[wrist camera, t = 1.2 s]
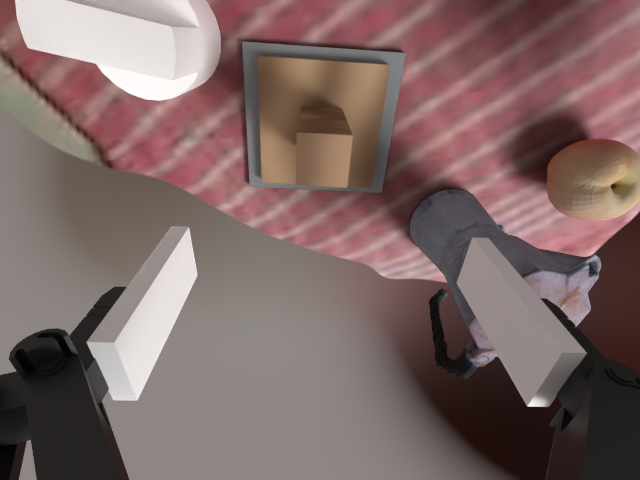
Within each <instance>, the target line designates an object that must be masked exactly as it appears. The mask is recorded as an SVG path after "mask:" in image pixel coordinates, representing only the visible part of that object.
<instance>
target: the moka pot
mask: <svg viewBox="0 0 640 480" xmlns="http://www.w3.org/2000/svg"><path fill="white" fill-rule="evenodd" d="M410 237H411V238H412V240H413V241H414V242H415V243H416V245H417V246H418V247H419V249H420V250H421V251H422V252H423V253H424V254H425V255H426V256H427V257H428V258H429V259H430V260H431V261H432V262H433V263H434V264H435V265H436V266H437V267H438V268H439V270H440V271H441V272H442V273H443V274H444V276H445V278H446V280H447V282H448V285H449V287H450V289H451V291H452V294H453V296H454V298H455V300H456V302H457V305H458V307H459V309H460V311H461V314H462V316H463V318H464V320H465V323H466V325H467V327H468V329H469V331H470V333H471V334H472V336H473V338H474V339H473V340H472V341H471V342H470V343H469V344H468V345H466V346H465V348H464V349H463V352H462V354H461V355H460V357H459V358H457V359H456V360H452V359H450V358H448V356H447V344H446V342H444V339H445V338H444V333H443V328H442V324H441V320H440V313H439V311H440V310H439V307H440V303H441V301H442V300H443V299H444V298H445V297H446V296H447V291H446V290H444V289H441V290H439V291H438V293H437V294H435V295H434V296H433V297H432V298H431V299H430V301H429V304H430V316H431V320H432V331H433V341H434V345H435V347H434V348H435V360H436V362H437V366H438V367H440V368H441V369H443V370H447V372H449V373H453V372H454V373H455V374H456V375H457V376H459V375H460V376H462V377H464V378H466V379H467V378H468V377H469V376H470V375H471V374H472V373H474V371H475V370H476V369H477V367H478V366H482V367H483V366H485V365H486V364H487V363H489V362H490V361H492V360H493V359H494V357H499V356H498V354H497V353H496V351H495V349H494V347H493V346H492V344H491V342H490V340H489V339H488V337H487V335H486V334H485V332H484V330H483V328H482V327H481V325H480V323H479V321H478V320H477V318H476V316H475V314H474V313H473V311H472V309H471V307H470V306H469V304H468V302H467V300H466V299H465V297H464V295H463V294H462V292H461V290H460V288H459V287H458V285H457V280H458V277H459V275H460V272H461V269H462V266H463V263H464V260H465V257H466V254H467V251H468V248H469V246H470V243H471V240H472V237H476V238H489V239H490V241H491V242H492V243H493V244H494V245H495V246H496V248H497V249H498V250H499V251H500V252H501V253H502V255H503V256H504V257H505V258H506V259H507V260H508V262H509V263H510V264H511V265H512V266H513V267H514V269H515V270H516V271H517V272H518V273H519V274H520V276H521V277H522V278H523V279H524V280H525V281H526V283H527V284H528V285H529V286H530V287H531V288H532V290H533V291H534V292H535V293H536V294H537V295H538V297H539V298H547V299H548V300H549V301H551V302H552V303H554V304H555V305H557V306H558V307H559V308H560V309H561V310H562V311H563V312H564V313H565V314H566V315H567V316H568V318H569V320H571V321H572V322H573V323H574V324H575V325H576V326H577V325H578V324H579V323H580V322H581V321H582V319H583V318H584V317H585V316H586V315H587V314H588V313H589V311H590V310H591V307H590V302H589V297H588V291H589V290H590V289H591V287H592V286H593V285H594V283H595V282H596V280H597V279H598V278H599V274H598V272H599V270H600V268H601V262H600V259H599V257H597V256H596V255H595V254H593V255H592V256H589V257H580V256H574V255H569V254H564V253H559V252H553V251H549V250H542V249H538V248H536V247H534V246H532V245H530V244H529V243H527V242H525V241H523V240H522V239H520V238H518V237H516V236H512V235H507V234H506V233H505V229H504V228H503V226H502V225H497V224H496V223H495V222H494V220H493V219H492V218H491V217H490V215H489V214H488V213H487V211H486V210H485V209H484V208H483V206H482V205H481V204H480V203H479V201H478V200H477V199H476V198H475V197H474V195H473V194H471V193H469V192H466V191H462V190H458V189H447V190H443V191H440V192H436V193H434V194H432V195H430V196H429V197H427V198H426V199H425V200H424V201H423V202H422V203H421V204H420V205H419V206H418V208H417V209H416V210H415V211H414V213H413V215H412V218H411V222H410Z"/></svg>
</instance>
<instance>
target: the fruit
mask: <svg viewBox="0 0 640 480" xmlns="http://www.w3.org/2000/svg"><path fill="white" fill-rule="evenodd" d="M546 189H547V193H548V197H549V200H550V201H551V203H552V204H553V206H554V207H555V208H556V209H557V210H559V211H560V212H561V213H563V214H565V215H567V216H570V217H573V218H576V219H581V220H589V221H601V220H608V219H612V218H615V217H618V216H620V215H622V214H624V213H626V212H627V211H629V210H630V209H631V208H633V207H634V206H635V205H636V204H637V203H638V202H639V201H640V156H639V155H638V154H637V153H636V152H635V151H634V150H633V149H632V148H630V147H628V146H627V145H625V144H622V143H620V142H618V141H614V140H608V139H590V140H583V141H579V142H576V143H573V144H571V145H569V146H567V147H565V148H564V149H562V150H561V151H560V152H558V153H557V154H556V155H555V156H554V157H553V158H552V159H551V160H550V162H549V163H548V168H547V186H546Z"/></svg>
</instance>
